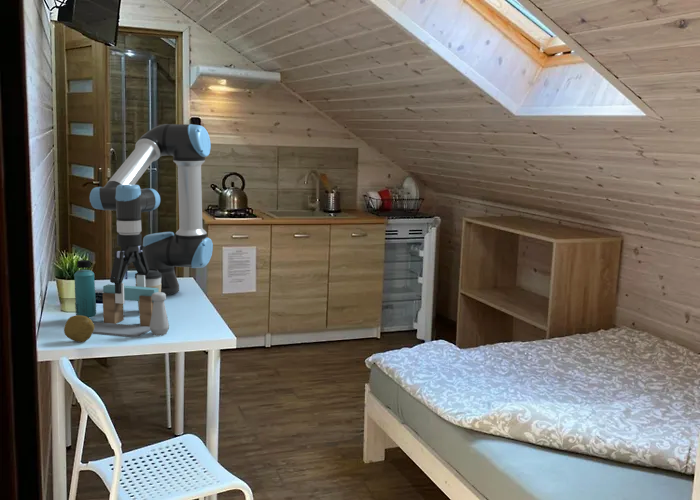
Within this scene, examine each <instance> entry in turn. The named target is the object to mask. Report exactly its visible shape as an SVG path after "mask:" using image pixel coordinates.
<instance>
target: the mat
mask: <svg viewBox="0 0 700 500" xmlns="http://www.w3.org/2000/svg"><path fill="white" fill-rule="evenodd" d="M93 324H94V330H93V333H92V334H99V335H106V336H108V335H109V336H117V335H118V337H129V338H130V337H131V338H139V337H141V336H143V335H145V334H147V333H148V332H149V333H150V332H151V330H150V327H147V326H140V325H135V324H134V325H133V324H122V323H116V324H113V323H104V322H99V321H96V322H95V323H94V322H93Z"/></svg>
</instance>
